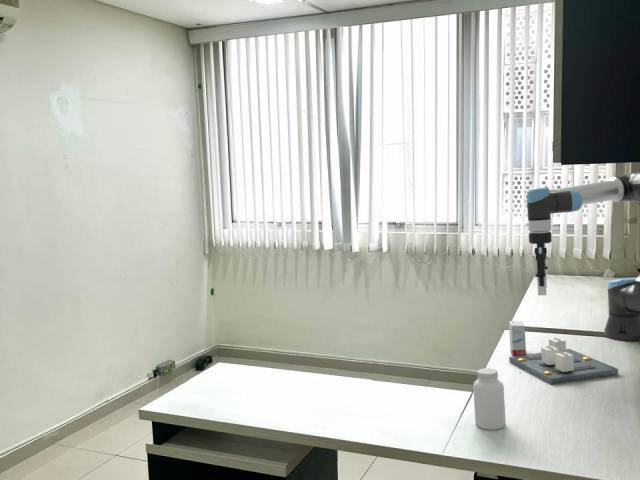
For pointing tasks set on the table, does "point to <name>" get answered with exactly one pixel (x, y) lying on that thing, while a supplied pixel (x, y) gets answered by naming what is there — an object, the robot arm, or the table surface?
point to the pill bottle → (489, 400)
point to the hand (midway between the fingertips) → (542, 291)
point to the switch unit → (582, 371)
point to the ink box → (517, 338)
